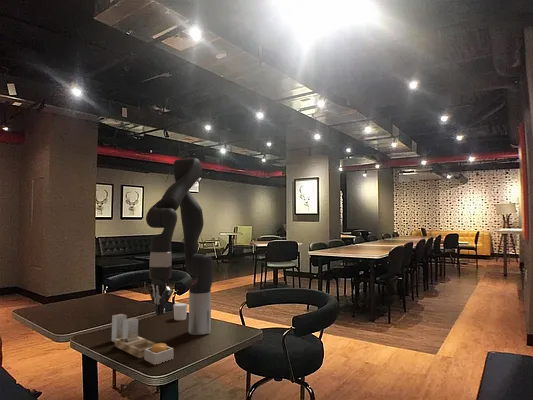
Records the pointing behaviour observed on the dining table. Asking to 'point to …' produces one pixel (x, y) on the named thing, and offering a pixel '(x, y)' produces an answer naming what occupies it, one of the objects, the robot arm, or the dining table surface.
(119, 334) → the loose billet
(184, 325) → the dining table surface
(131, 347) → the beige compartment tray
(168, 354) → the button housing
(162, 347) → the button
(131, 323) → the seated billet
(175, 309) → the white cup
